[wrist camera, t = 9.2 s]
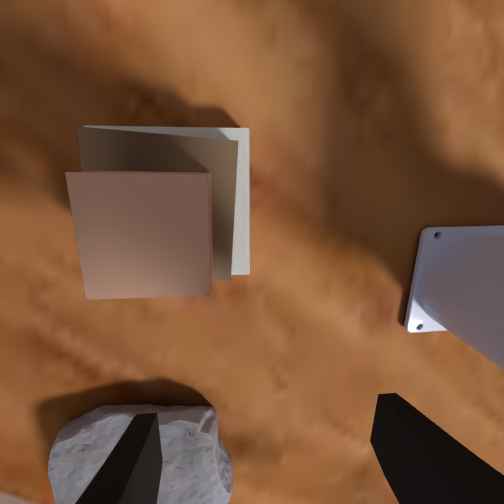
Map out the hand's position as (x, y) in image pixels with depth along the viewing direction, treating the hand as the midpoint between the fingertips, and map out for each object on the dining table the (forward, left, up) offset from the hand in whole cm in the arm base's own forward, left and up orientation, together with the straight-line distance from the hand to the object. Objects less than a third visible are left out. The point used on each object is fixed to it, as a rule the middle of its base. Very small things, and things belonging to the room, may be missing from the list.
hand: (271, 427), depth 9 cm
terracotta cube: (+4, -6, -6) cm, 9 cm away
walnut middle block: (+4, -6, -9) cm, 11 cm away
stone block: (+8, +13, -11) cm, 18 cm away
